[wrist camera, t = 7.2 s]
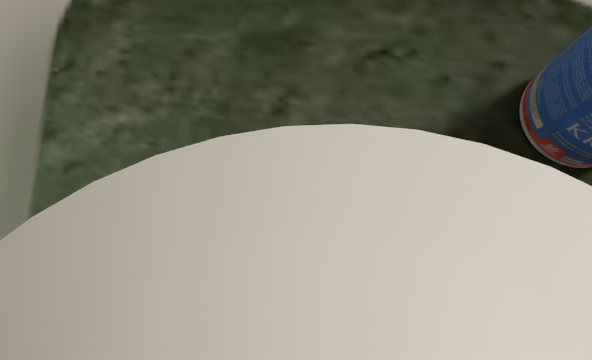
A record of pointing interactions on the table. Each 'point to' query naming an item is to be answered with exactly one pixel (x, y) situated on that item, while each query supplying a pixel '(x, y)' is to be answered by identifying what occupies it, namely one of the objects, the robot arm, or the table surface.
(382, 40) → the table surface
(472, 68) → the table surface
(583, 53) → the pill bottle
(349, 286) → the white flanged cylinder
